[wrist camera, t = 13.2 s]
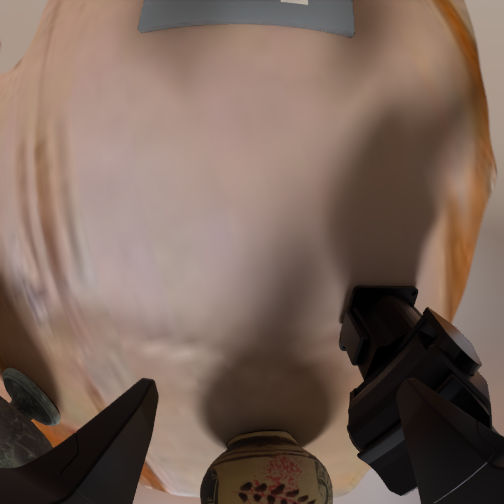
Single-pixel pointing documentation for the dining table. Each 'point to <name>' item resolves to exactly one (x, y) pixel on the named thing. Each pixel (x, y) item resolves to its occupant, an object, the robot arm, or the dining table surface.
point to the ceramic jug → (266, 473)
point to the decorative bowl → (23, 420)
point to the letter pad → (250, 14)
